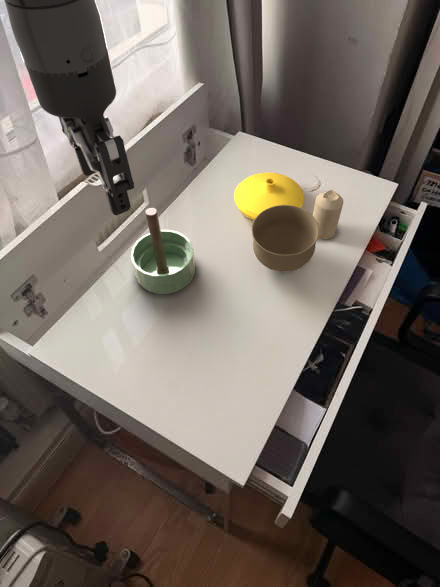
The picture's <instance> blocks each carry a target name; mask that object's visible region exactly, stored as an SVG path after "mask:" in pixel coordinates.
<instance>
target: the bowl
mask: <svg viewBox="0 0 440 587" xmlns="http://www.w3.org/2000/svg"><path fill="white" fill-rule="evenodd" d="M251 236H252V250H253V253H254V255H255V257H256V259H257V261H259V263H260V264H261V265H263V266H264V267H266V268H268V269H269V270H272V271H275V272H280V273H285V272H288V273H289V272H293V271H297V270H299V269H301V268H303V267H304V266H306V265H307V264H308V263H309V262H310V261H311V259H312V258H313V256H314V254H315V251H316V244H317V241H318V240H319V238H318V236H319V226H318V223H317V221H316V219H315V218H314V217H313V214H311V213H310V212H309V211H308V210H305V209H304V208H302V207H301V208H299V207H296V206H292V205H278V206H273V207H270V208H268V209H266V210H264V211H262V212H261V213H260V214H259V215H258V216H257V217H256V218H255V220H253V222H252V224H251Z"/></svg>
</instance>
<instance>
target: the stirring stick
mask: <svg viewBox="0 0 440 587" xmlns="http://www.w3.org/2000/svg"><path fill="white" fill-rule="evenodd" d="M145 217H146V222H147V227H148V231H149V232H148V233H150V236H151V241H152V245H153V250H154V255H155V259H156V264H157V266H156V269H157V274H167V273H169V267H168V264H167V262H166V257H165V251H164V246H163V240H162V235H161V230H162V229H161V226H160V220H159V214H158V209H157V208H155V207H149V208H146V210H145Z"/></svg>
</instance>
